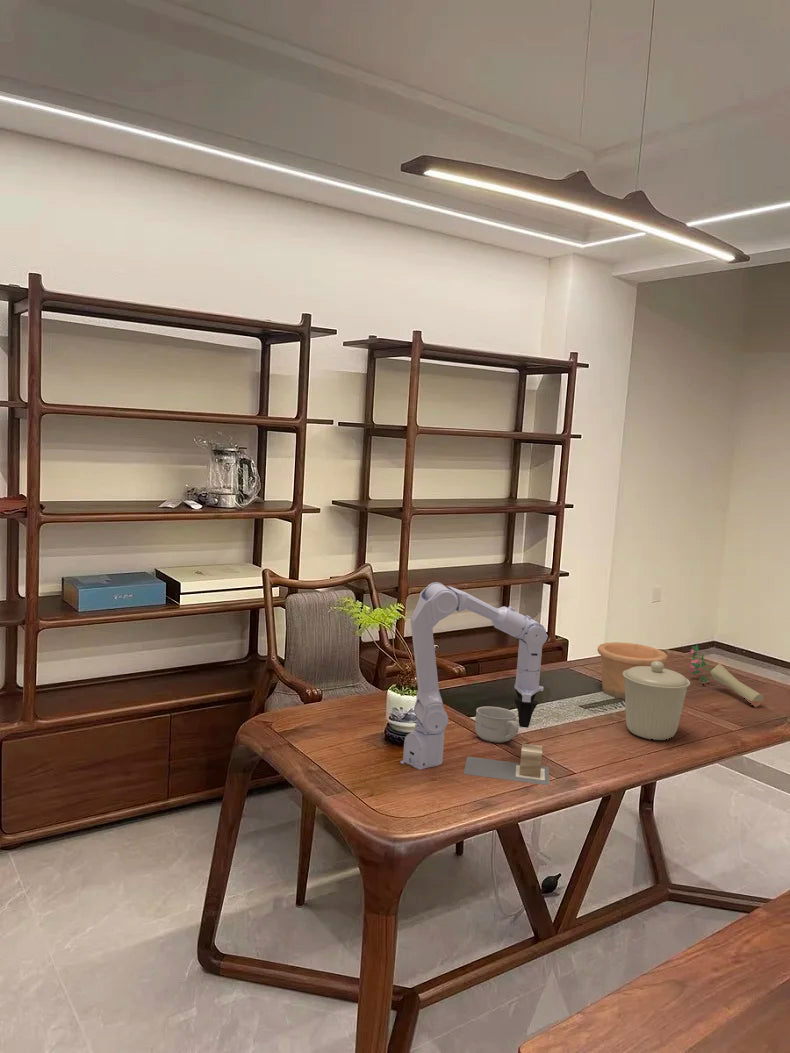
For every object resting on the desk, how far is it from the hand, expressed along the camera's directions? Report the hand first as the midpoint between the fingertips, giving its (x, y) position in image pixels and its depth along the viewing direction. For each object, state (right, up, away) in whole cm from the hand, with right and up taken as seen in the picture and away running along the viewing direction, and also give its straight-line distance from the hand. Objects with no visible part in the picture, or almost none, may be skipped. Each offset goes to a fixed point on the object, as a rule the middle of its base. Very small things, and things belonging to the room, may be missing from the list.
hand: (524, 721), depth 200 cm
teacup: (-5, -9, +13) cm, 17 cm away
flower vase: (+79, -8, +74) cm, 108 cm away
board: (-5, -11, -7) cm, 14 cm away
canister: (+40, -10, +28) cm, 50 cm away
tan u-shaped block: (0, -10, -8) cm, 13 cm away
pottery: (+45, -7, +65) cm, 80 cm away
